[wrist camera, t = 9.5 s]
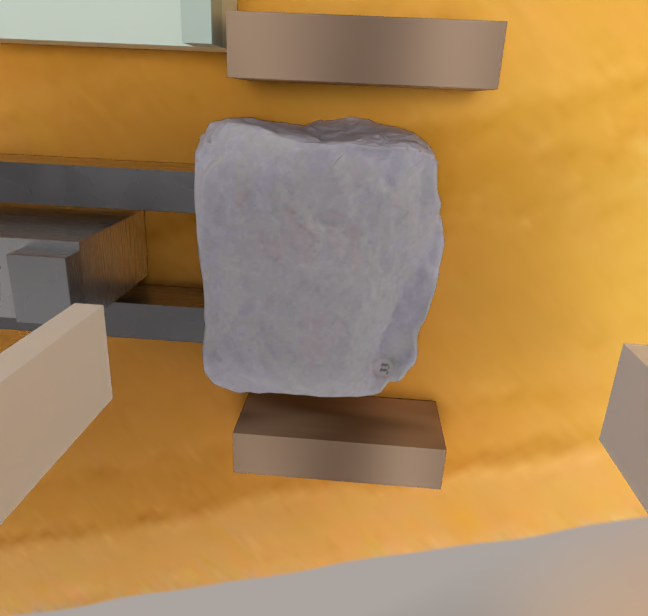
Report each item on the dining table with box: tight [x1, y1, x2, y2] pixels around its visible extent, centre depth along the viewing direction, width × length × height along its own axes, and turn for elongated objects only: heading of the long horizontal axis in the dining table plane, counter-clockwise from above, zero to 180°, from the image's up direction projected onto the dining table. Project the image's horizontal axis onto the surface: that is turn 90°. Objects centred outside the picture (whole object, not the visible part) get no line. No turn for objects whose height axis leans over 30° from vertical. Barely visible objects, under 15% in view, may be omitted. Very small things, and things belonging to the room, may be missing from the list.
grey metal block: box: [0, 202, 148, 324], centre depth 22 cm, size 8×3×7 cm, turn 88°
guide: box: [0, 154, 205, 343], centre depth 24 cm, size 16×7×2 cm, turn 88°
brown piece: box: [226, 11, 507, 489], centre depth 23 cm, size 9×18×4 cm, turn 178°
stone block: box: [194, 117, 445, 397], centre depth 24 cm, size 12×5×10 cm
